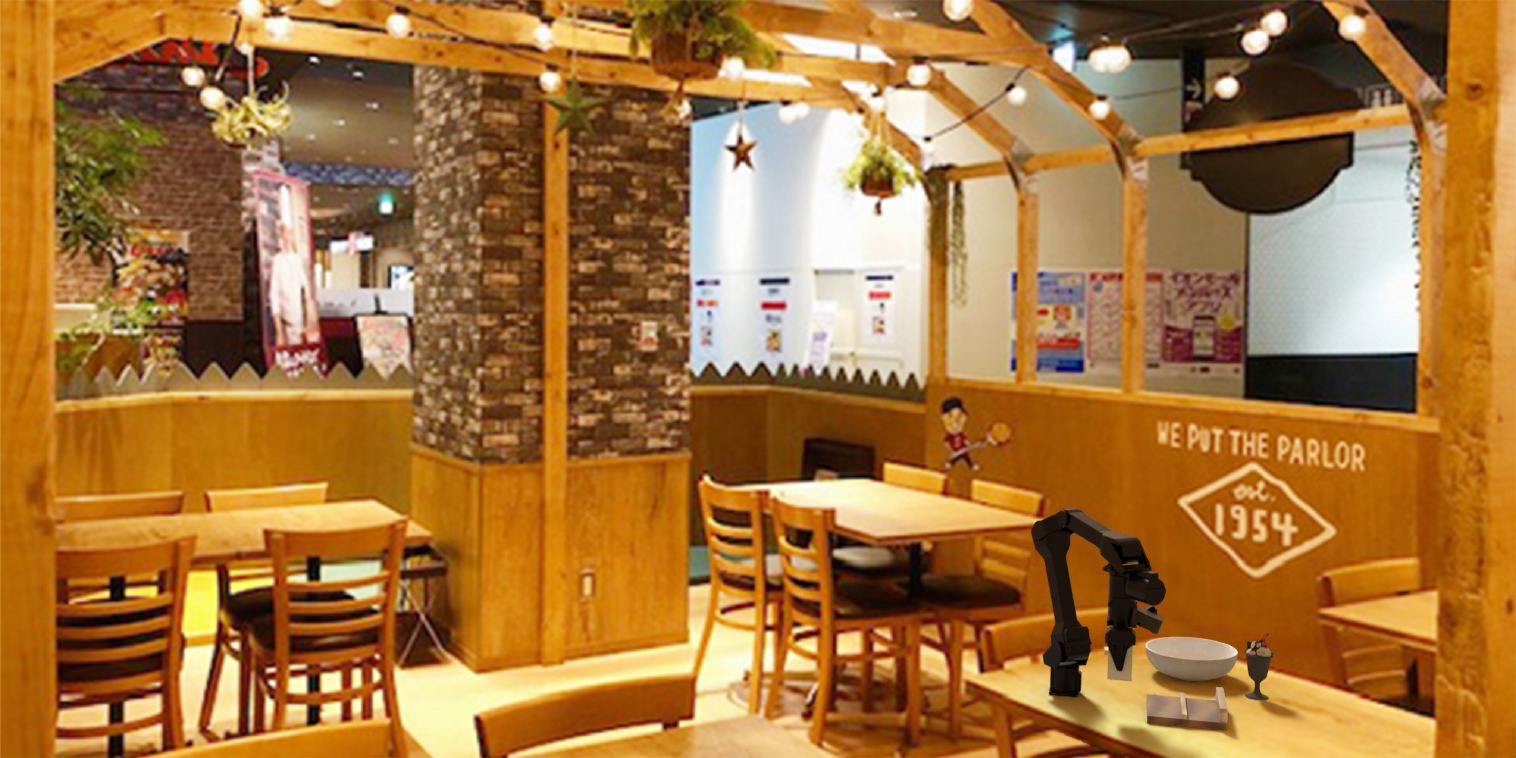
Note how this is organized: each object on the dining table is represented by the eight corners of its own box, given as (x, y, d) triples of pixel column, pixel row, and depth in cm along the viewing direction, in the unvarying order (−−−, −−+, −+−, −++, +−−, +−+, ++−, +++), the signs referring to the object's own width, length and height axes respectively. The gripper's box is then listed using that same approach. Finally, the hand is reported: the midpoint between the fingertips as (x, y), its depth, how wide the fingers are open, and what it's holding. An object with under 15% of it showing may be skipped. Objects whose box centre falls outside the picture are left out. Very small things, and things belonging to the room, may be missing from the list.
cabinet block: (1103, 678, 292) (1104, 641, 291) (1104, 672, 296) (1105, 636, 296) (1131, 681, 290) (1132, 644, 289) (1131, 674, 295) (1133, 638, 294)
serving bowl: (1161, 659, 340) (1162, 631, 339) (1247, 674, 327) (1249, 645, 327) (1131, 677, 323) (1132, 649, 322) (1220, 694, 311) (1221, 664, 310)
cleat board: (1146, 722, 289) (1147, 701, 289) (1146, 700, 305) (1147, 680, 304) (1226, 730, 285) (1227, 709, 285) (1222, 707, 300) (1223, 687, 300)
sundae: (1275, 702, 305) (1278, 636, 304) (1243, 700, 306) (1246, 634, 305) (1270, 693, 311) (1273, 628, 310) (1239, 691, 313) (1241, 626, 312)
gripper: (1162, 608, 281) (1159, 683, 282) (1160, 589, 299) (1158, 659, 300) (1106, 604, 284) (1103, 678, 285) (1108, 585, 302) (1106, 655, 303)
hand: (1119, 667), depth 293 cm, fingers closed on cabinet block, 5 cm apart
